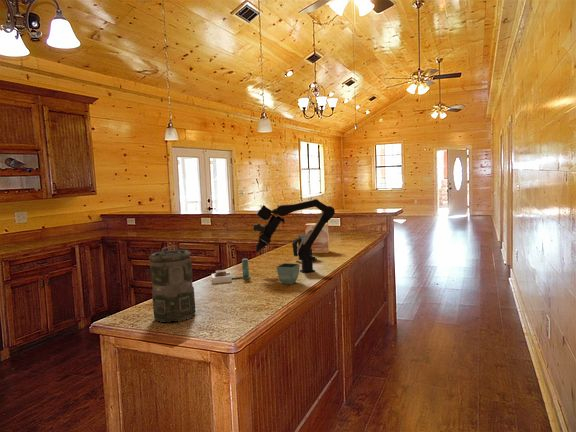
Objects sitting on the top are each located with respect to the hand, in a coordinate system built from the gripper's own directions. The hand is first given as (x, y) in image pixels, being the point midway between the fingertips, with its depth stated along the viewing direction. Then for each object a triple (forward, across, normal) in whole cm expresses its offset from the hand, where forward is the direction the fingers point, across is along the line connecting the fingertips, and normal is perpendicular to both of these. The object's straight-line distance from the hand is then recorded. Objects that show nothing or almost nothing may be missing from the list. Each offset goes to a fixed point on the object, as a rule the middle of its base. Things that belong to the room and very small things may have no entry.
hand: (256, 249), depth 229 cm
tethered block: (+19, +5, -2) cm, 20 cm away
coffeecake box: (-12, -55, +41) cm, 70 cm away
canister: (+30, +62, -18) cm, 71 cm away
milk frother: (-7, -33, +33) cm, 47 cm away
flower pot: (+2, +22, +21) cm, 30 cm away
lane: (+22, +6, -7) cm, 24 cm away
